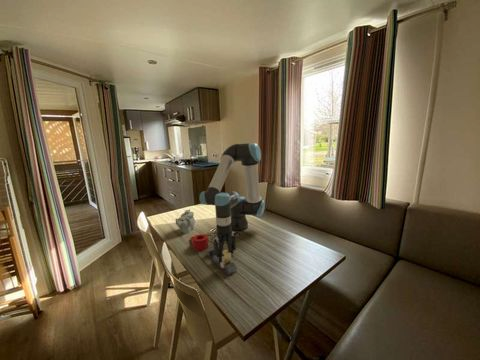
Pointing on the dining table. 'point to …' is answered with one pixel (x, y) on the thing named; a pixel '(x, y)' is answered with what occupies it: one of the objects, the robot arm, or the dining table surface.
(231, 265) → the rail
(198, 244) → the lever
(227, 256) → the nut block
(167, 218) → the dining table surface
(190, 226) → the grey lumpy piece
